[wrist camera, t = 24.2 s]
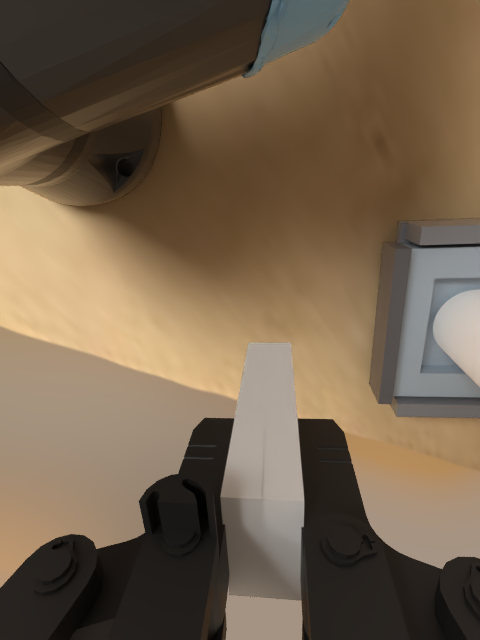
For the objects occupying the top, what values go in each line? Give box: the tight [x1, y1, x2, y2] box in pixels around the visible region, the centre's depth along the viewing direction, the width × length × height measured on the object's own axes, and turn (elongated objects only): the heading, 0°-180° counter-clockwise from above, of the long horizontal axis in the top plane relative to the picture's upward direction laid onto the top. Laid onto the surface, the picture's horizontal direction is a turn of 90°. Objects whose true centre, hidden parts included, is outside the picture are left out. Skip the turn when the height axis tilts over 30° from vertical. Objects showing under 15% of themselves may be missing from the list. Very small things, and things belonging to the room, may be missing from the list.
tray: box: [369, 242, 480, 404], centre depth 31 cm, size 15×14×4 cm
